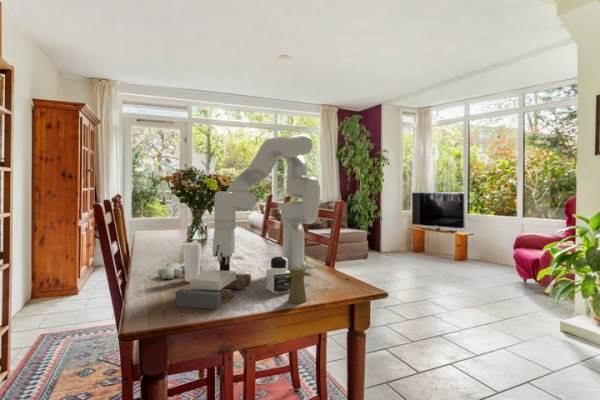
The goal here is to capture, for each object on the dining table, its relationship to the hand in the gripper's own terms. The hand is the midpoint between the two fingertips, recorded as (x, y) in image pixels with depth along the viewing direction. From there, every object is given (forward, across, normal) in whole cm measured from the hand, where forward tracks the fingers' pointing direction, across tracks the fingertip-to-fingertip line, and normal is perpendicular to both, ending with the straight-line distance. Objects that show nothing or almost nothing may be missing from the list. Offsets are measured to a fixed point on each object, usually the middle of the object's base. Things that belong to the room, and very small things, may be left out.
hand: (224, 274), depth 127 cm
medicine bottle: (+5, -3, +20) cm, 21 cm away
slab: (+1, +9, 0) cm, 9 cm away
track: (+5, +3, 0) cm, 6 cm away
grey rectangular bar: (+5, +20, 0) cm, 20 cm away
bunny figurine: (+6, -13, -29) cm, 32 cm away
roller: (+6, +11, 0) cm, 12 cm away
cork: (+5, +7, +29) cm, 30 cm away
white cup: (+5, -7, -17) cm, 19 cm away
